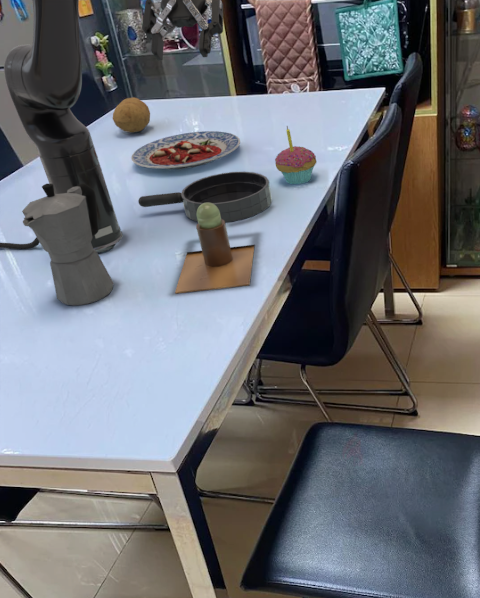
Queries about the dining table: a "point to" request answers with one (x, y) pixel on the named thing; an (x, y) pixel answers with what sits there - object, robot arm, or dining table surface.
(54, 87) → the robot arm
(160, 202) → the pan handle
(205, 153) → the ceramic plate
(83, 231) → the coffeepot
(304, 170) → the cupcake
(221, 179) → the pan
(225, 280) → the placemat
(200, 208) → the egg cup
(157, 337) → the dining table surface
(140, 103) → the potato
